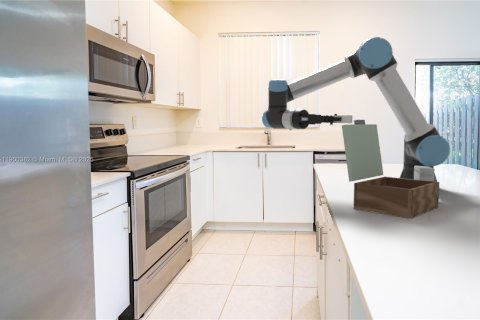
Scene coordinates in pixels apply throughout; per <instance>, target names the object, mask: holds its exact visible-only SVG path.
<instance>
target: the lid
mask: <svg viewBox="0 0 480 320" xmlns="http://www.w3.org/2000/svg"><path fill="white" fill-rule="evenodd" d="M341 130H342V138H343V146H344V153H345V161H346V167H347V175H348V182H356V181H357V182H358V181H360V180H361V181H362V180H365V179H371V178H375V177H381V176H384V169H383V163H382V156H381V155H382V154H381V147H380V146H381V145H380V140H379V132H378V131H379V130H378V124H377V123H375V124H373V123H372V124H368V123H367V124H366V120H365V119H354V120H353V124H342V125H341Z"/></svg>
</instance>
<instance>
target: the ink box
mask: <svg viewBox="0 0 480 320" xmlns="http://www.w3.org/2000/svg"><path fill="white" fill-rule="evenodd" d="M434 172H435V168H431V167H428V166H414V179H415V180H425V181H434Z"/></svg>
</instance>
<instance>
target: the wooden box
mask: <svg viewBox="0 0 480 320" xmlns="http://www.w3.org/2000/svg"><path fill="white" fill-rule="evenodd" d="M439 197H440V181H437V182H435V181H425V180H415V179H405V178H400V177H392V176H382V177H381V176H380V177H377V178H373V179H371V178H370V179H368V180H363V181H362V180H361V181H357V182H354V183H353V209H354V210H359V211H363V212H364V211H365V212H371V213H376V214H382V215H388V216H393V217H401V218H406V219H413V218H416V217H418V216H421V215H423V214H425V213H428V212H431V211H433V210H435V209H438V208H439V202H440V201H439V200H440V199H439Z"/></svg>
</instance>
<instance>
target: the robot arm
mask: <svg viewBox="0 0 480 320" xmlns="http://www.w3.org/2000/svg"><path fill="white" fill-rule="evenodd" d="M393 53H394V52H393V47H392V45H391V43H390V41H388V40H387V39H386V38H383V37H379V36H375V37H374V36H373V37H370V38H368V39H366V40H364V42H362V43H361V44H360V46H359V48H358V49H357V50H356V51H354V52H352V53H351V54H349V55H345V57H344V59H343V60H340V61H338V62H336V63H333V64H330V65H329V66H327V67H324V68H322V69H319V70H317V71H314V72H312V73H310V74H309V73H308V74H307V75H304V76H303V77H300V78H298V79H294V80H293V81H291V82H289V83H288V81H287V80H285V79H270V80H269V82H268V88H267V89H268V105H267V106H268V107H267V110H265V111H264V112H263V113H262V117H261V121H262V124H263V126H264V127H265V128H267V129H273V130H274V129H280V130H281V129H283V130H284V129H285V130H287V129H289V131H292V130H294V129H295V130H305V129H307V128H308V127H309V125H320V124H321V125H322V124H324V123H326V124H329V126H330V125H331V126H333V125H334V124H353V115H351V114H348V115H347V114H346V115H340V114H339V115H338V113H334V115H322V114H317V113H309V111H308V110H306V109H304V108H303V109H292V108H291V109H288V103H289V102H292V101H294V100H297V99H300V98H302V97H304V96H307V95H309V94H312V93H315V92H316V91H319V90H321V89H324V88H326V87H329V86H331V85H333V84H336V83H339V82H341V81H344V80H346V79H349V78H352V79H355V78H357V77H360V76H364V75H366V77H367V79H368V80H369V81H371V82H375V84H376V86H377V87H378V89H379V91H380V92H381V94H382V96H383V97H384V98H385V99H384V100H386V101H385V102H387V104H388V106H389V107H390V109H391V110H392V113H393V114H394V116H395V119H396V120H397V122H398V123H399V125H400V126H401V128H402V129H403V131H404V133H405V134H404V138H403V166H402V170H401V173H400V176H399V178H405V179H414V166H428V167H431V168H434V167H437V166H440V165H441V164H443V163H445V162H446V161H447V159H448V158H449V156H450V153H451V147H450V143H449V142H448V141H447V139H446V138H445V137H443V136H441V135H440V133H439V131H438V129H437V128H436V126H435V125H434V124H431V123H428V121H427V120H426V118H425V116H424V114H423V112H422V111H421V109H420V108H419V106H418V104H417V103H416V100H415V99H414V97H413V96H412V94H411V93H410V91H409V89H408V87H407V85H406V83H405V81H404V80H403V79H402V77H401V76H400V74H399V71H398V70H397V67H398V64H399V63H398V61H397V59H396V58H395V56H394V54H393ZM434 169H435V168H434ZM436 176H437V175H436V173H435V171H434V181H435V182H438V180H437V177H436Z"/></svg>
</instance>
